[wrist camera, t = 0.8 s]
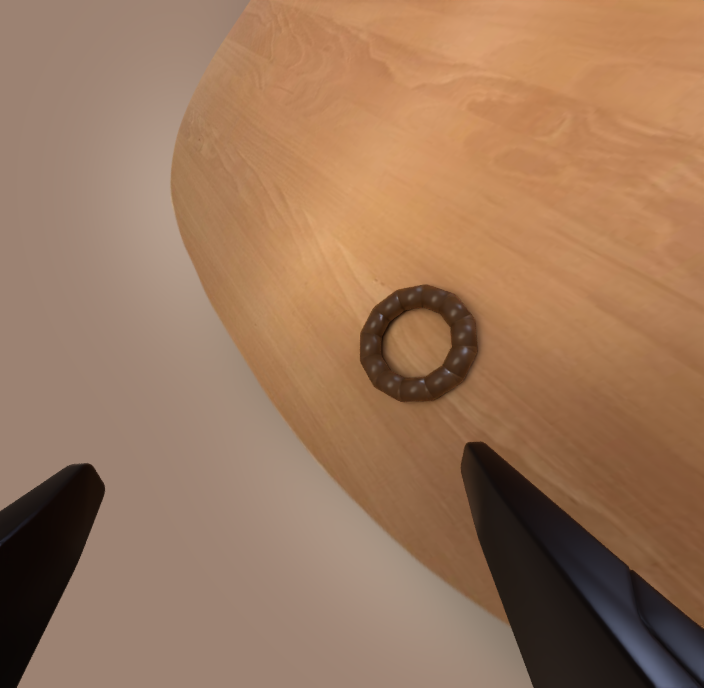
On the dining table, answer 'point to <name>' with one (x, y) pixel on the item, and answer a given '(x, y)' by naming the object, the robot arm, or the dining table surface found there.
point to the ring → (454, 362)
